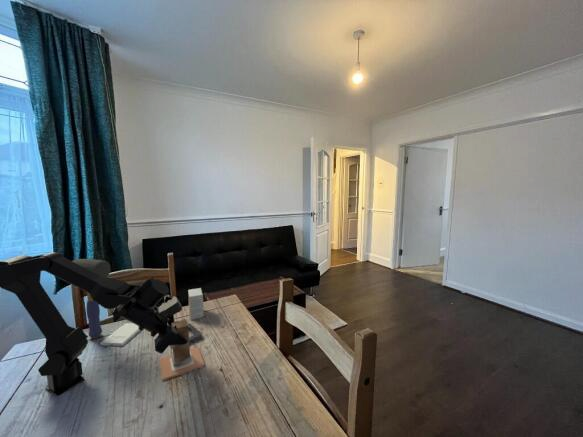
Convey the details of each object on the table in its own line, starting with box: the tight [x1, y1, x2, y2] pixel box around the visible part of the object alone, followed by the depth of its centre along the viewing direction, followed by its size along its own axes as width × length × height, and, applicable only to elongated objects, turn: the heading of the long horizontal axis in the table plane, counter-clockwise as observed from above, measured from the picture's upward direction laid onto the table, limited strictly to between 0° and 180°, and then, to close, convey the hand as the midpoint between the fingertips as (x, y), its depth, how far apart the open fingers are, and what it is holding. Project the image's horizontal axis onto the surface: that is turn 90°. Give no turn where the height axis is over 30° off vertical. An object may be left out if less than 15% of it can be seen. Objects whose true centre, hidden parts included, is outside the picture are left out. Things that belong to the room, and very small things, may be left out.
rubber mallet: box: [71, 258, 112, 339], centre depth 91 cm, size 12×8×30 cm, turn 80°
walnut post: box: [171, 318, 192, 367], centre depth 79 cm, size 5×5×12 cm
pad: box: [159, 346, 206, 382], centre depth 80 cm, size 12×10×1 cm
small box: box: [187, 287, 205, 320], centre depth 110 cm, size 8×6×10 cm
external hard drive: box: [100, 322, 141, 347], centre depth 95 cm, size 2×8×12 cm
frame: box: [168, 322, 203, 350], centre depth 93 cm, size 10×10×2 cm
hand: (185, 338), depth 80 cm, fingers closed on walnut post, 4 cm apart
